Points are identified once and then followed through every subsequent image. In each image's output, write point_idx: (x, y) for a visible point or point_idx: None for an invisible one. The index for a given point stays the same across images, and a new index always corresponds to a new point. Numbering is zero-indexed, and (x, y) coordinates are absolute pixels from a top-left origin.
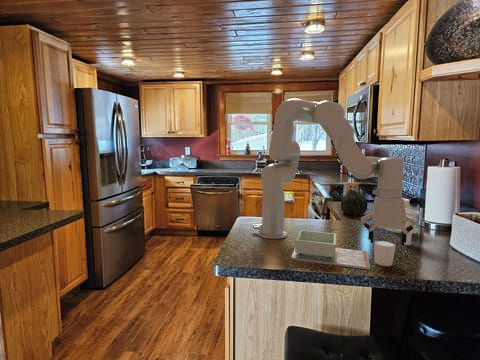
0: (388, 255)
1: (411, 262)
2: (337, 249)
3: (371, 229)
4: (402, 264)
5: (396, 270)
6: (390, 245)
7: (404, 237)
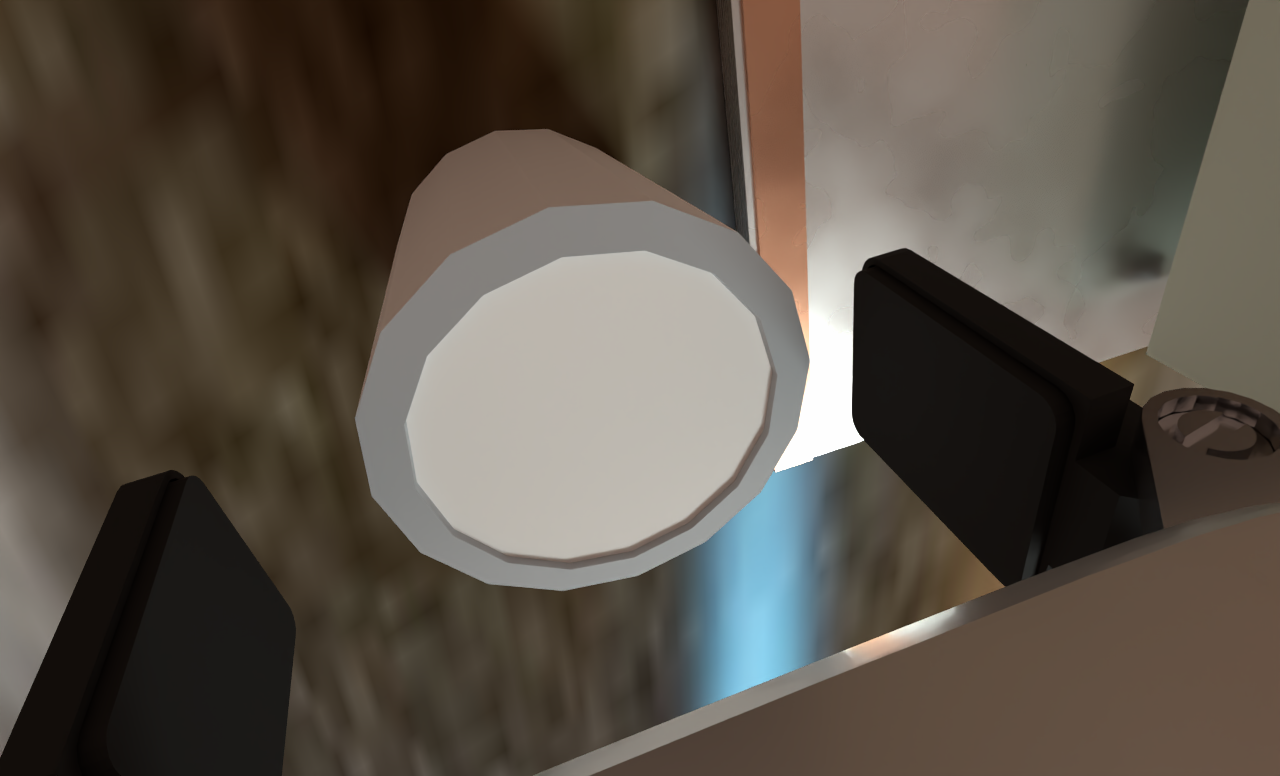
0: (463, 190)
1: None
2: (1085, 320)
3: (1194, 460)
4: (267, 362)
5: (271, 18)
6: (474, 396)
7: (44, 681)
